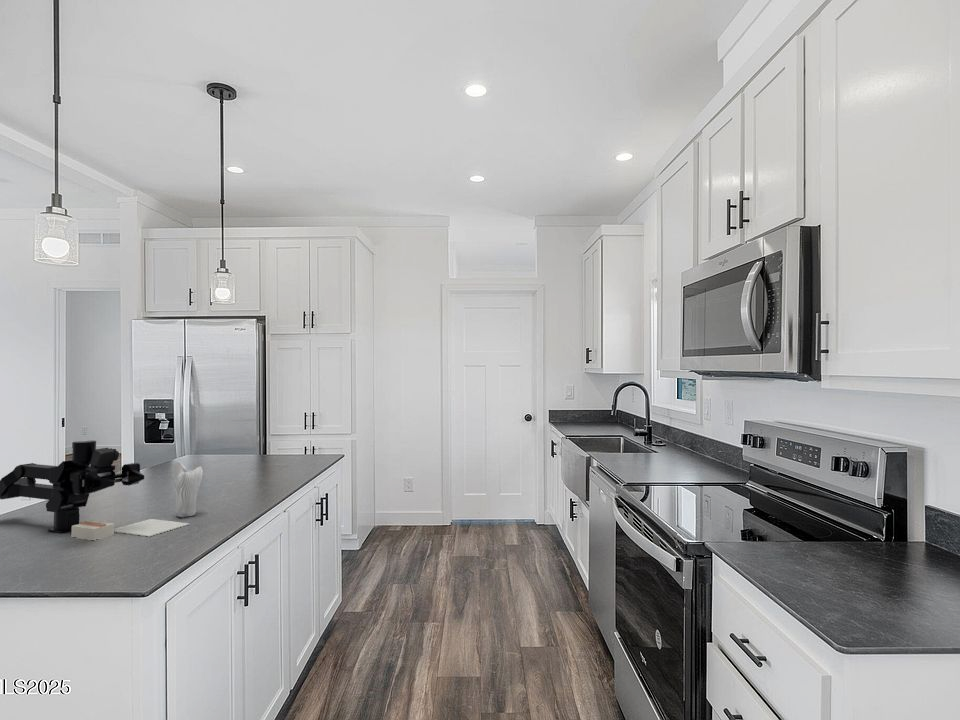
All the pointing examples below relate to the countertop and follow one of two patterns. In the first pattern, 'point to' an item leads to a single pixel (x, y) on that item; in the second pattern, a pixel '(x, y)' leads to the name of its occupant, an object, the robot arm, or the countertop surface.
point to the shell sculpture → (186, 488)
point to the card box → (92, 530)
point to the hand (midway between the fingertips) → (129, 480)
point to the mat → (150, 527)
